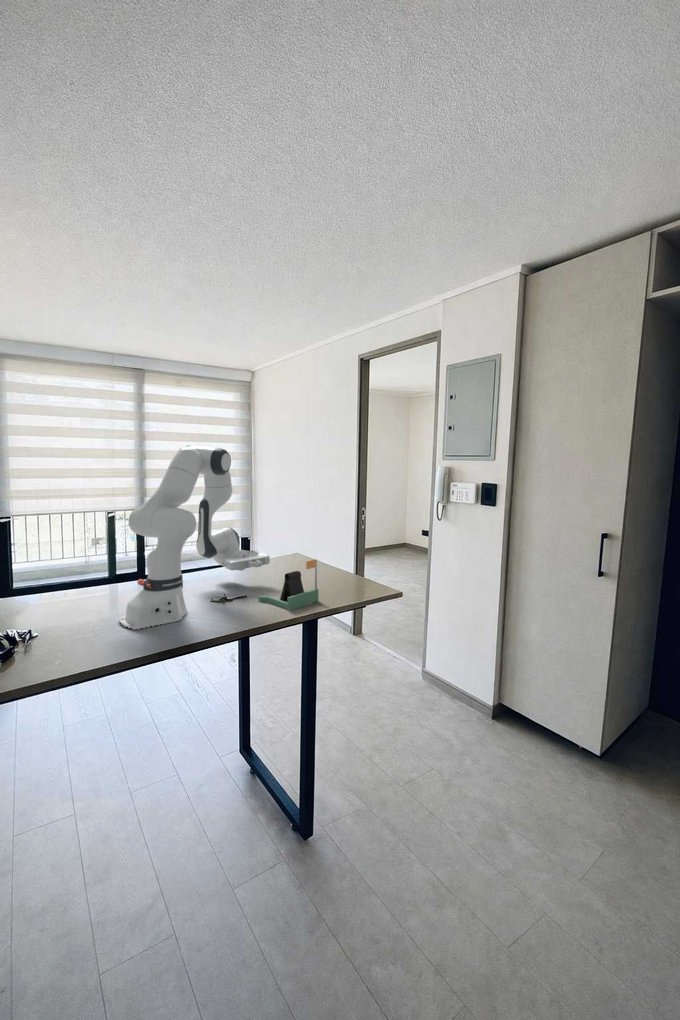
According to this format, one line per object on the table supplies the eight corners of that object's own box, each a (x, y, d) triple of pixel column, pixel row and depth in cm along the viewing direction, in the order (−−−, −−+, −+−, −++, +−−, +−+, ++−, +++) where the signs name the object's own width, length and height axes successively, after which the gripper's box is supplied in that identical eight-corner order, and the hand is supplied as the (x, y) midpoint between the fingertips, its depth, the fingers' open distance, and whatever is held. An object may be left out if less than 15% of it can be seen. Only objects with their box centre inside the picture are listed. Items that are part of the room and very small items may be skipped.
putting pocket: (287, 611, 164) (286, 566, 162) (257, 601, 176) (257, 559, 174) (320, 600, 177) (320, 558, 175) (290, 591, 188) (290, 552, 186)
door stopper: (306, 602, 174) (306, 572, 173) (295, 606, 170) (294, 575, 169) (291, 597, 180) (291, 568, 179) (279, 601, 176) (279, 571, 175)
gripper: (218, 556, 188) (238, 560, 178) (258, 550, 203) (277, 554, 194) (218, 570, 188) (238, 576, 179) (258, 563, 203) (277, 568, 194)
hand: (259, 564), depth 186 cm, fingers closed
